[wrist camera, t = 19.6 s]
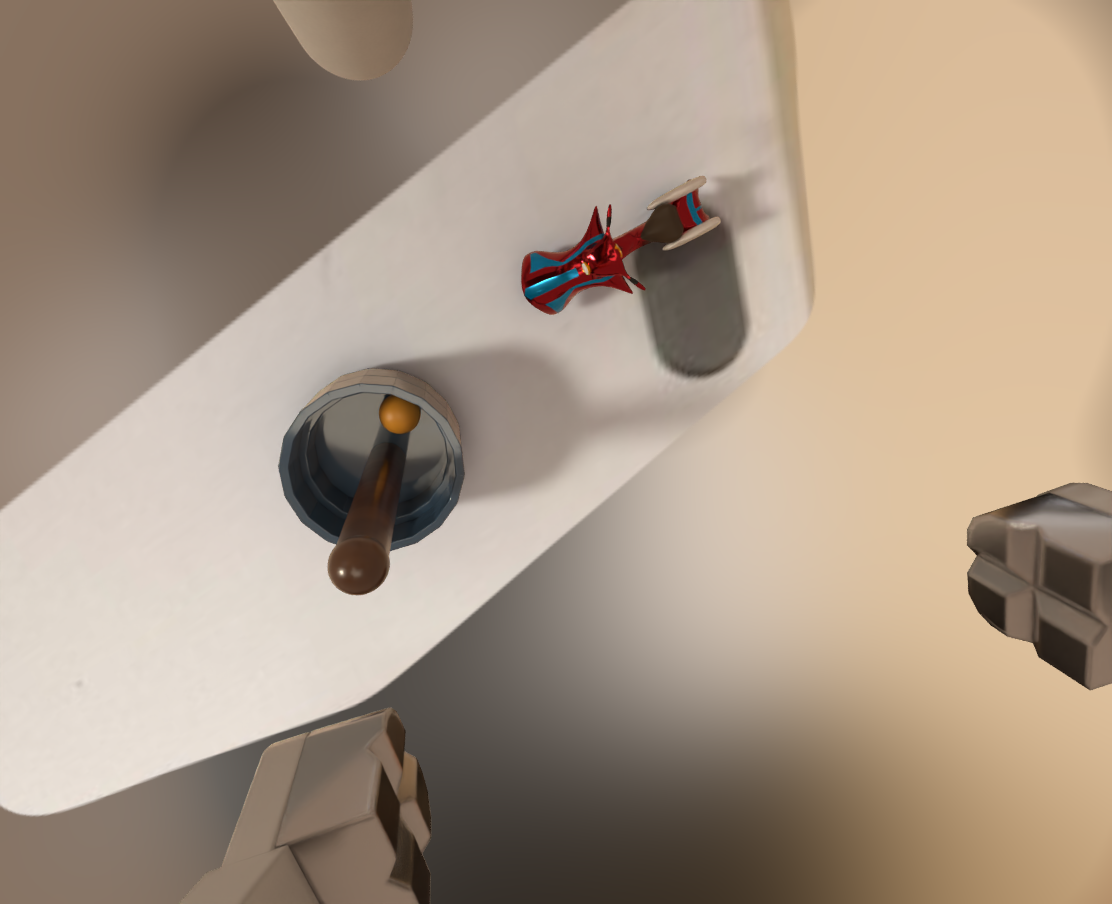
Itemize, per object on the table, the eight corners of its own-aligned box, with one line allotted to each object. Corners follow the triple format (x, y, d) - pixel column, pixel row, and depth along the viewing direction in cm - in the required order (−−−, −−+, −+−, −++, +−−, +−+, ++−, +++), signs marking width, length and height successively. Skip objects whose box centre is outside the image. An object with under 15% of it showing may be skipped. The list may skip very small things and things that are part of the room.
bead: (381, 407, 37) (386, 380, 35) (420, 416, 38) (426, 390, 36) (372, 436, 35) (377, 410, 34) (413, 445, 36) (419, 420, 34)
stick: (363, 444, 37) (315, 557, 23) (403, 437, 37) (380, 546, 23) (371, 480, 38) (330, 612, 23) (410, 473, 38) (392, 600, 24)
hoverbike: (499, 253, 36) (510, 251, 30) (677, 161, 36) (718, 143, 31) (537, 331, 37) (553, 342, 32) (706, 243, 38) (750, 239, 32)
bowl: (276, 391, 36) (248, 413, 31) (435, 348, 37) (435, 362, 32) (333, 532, 39) (317, 573, 34) (479, 489, 40) (484, 523, 35)
